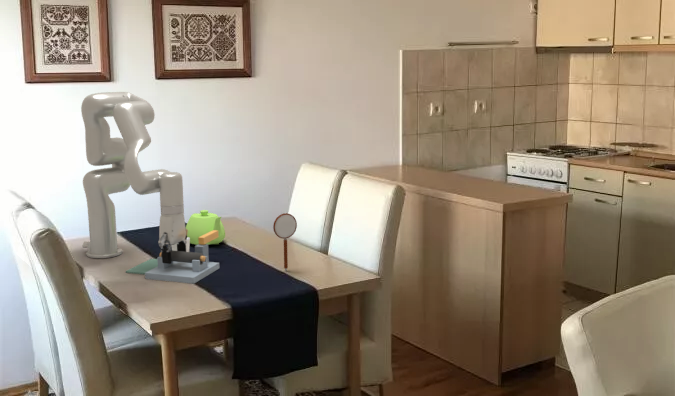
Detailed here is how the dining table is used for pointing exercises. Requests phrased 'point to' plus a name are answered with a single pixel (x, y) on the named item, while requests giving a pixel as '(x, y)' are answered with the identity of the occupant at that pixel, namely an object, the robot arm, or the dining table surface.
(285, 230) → the magnifying glass
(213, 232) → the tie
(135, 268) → the mat
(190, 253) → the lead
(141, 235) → the dining table surface
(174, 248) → the white cup
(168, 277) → the grey cradle stand
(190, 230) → the teapot
